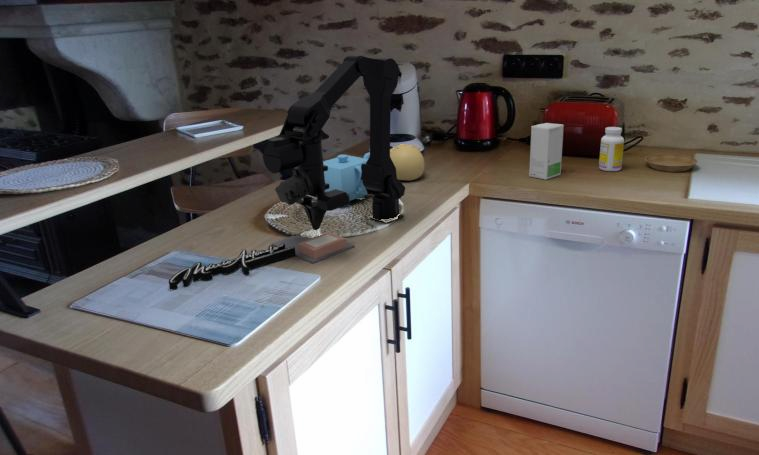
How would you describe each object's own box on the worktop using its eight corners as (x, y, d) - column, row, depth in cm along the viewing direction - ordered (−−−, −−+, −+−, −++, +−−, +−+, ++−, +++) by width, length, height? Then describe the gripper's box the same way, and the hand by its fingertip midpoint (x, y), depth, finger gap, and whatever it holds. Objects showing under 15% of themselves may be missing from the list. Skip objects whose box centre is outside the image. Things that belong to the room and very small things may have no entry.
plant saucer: (645, 173, 177) (646, 164, 176) (641, 160, 190) (642, 152, 189) (700, 175, 172) (701, 166, 171) (692, 162, 185) (693, 154, 184)
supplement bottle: (622, 167, 183) (626, 126, 178) (619, 172, 177) (624, 131, 173) (600, 165, 186) (603, 125, 181) (596, 171, 180) (600, 129, 176)
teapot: (349, 211, 156) (346, 164, 152) (311, 200, 166) (307, 156, 162) (393, 193, 168) (392, 150, 164) (355, 184, 178) (353, 143, 174)
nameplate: (175, 290, 113) (160, 273, 121) (176, 297, 114) (162, 279, 121) (300, 250, 127) (280, 238, 135) (301, 257, 128) (281, 244, 135)
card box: (329, 231, 136) (345, 238, 132) (329, 240, 136) (346, 246, 132) (297, 243, 130) (314, 250, 126) (298, 251, 131) (315, 259, 127)
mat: (312, 230, 144) (311, 228, 144) (354, 246, 133) (354, 245, 133) (271, 245, 136) (271, 243, 136) (313, 263, 125) (313, 262, 125)
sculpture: (416, 171, 189) (415, 138, 186) (430, 180, 179) (429, 146, 175) (382, 175, 186) (381, 142, 182) (394, 185, 176) (393, 150, 172)
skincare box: (545, 180, 173) (549, 128, 168) (527, 176, 178) (529, 126, 172) (561, 174, 178) (565, 124, 173) (543, 170, 183) (546, 121, 178)
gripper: (254, 163, 127) (263, 229, 133) (306, 178, 114) (313, 251, 120) (296, 153, 134) (302, 216, 140) (349, 166, 121) (353, 235, 127)
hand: (316, 229), depth 132 cm, fingers closed
